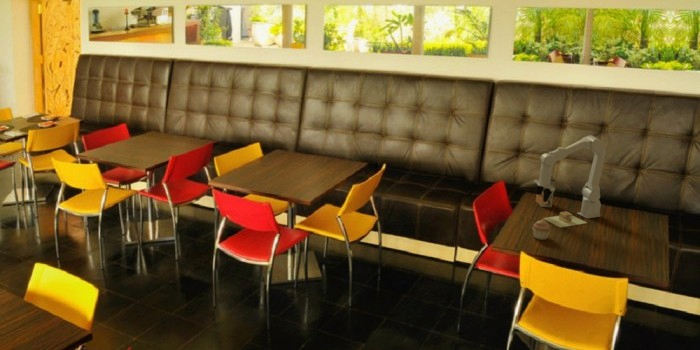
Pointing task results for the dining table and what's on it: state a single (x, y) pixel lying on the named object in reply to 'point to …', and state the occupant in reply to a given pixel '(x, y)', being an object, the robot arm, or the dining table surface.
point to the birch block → (565, 216)
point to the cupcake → (541, 230)
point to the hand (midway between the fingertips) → (542, 200)
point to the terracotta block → (540, 199)
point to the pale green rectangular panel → (560, 223)
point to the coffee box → (550, 195)
